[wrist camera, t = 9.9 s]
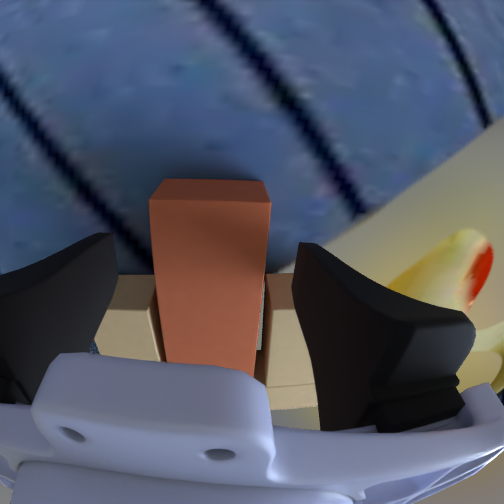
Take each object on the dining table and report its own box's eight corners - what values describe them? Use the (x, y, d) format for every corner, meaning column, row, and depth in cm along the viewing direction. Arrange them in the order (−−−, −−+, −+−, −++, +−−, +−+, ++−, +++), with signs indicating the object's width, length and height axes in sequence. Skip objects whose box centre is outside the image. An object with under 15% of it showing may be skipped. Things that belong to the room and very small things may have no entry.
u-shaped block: (102, 273, 15) (82, 307, 13) (327, 271, 16) (345, 306, 13) (132, 372, 19) (123, 407, 16) (307, 371, 20) (316, 406, 17)
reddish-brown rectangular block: (249, 346, 18) (252, 384, 16) (176, 344, 18) (170, 382, 15) (263, 180, 14) (271, 202, 11) (164, 178, 13) (147, 199, 11)
